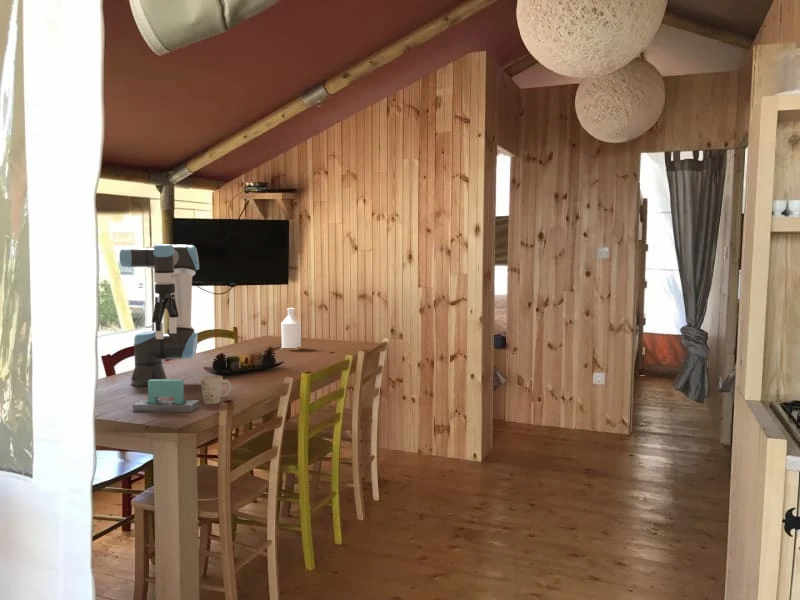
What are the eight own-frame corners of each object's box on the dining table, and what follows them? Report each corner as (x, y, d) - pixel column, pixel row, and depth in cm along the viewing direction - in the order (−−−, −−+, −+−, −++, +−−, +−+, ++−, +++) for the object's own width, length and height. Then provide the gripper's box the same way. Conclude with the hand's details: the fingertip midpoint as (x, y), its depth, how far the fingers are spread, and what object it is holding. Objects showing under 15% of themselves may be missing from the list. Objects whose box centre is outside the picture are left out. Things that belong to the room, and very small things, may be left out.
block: (132, 411, 241) (132, 404, 241) (142, 406, 249) (142, 399, 249) (191, 411, 240) (191, 405, 240) (198, 406, 248) (198, 400, 248)
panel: (148, 409, 243) (147, 380, 243) (151, 407, 246) (151, 379, 246) (181, 410, 243) (180, 381, 242) (184, 408, 246) (183, 379, 245)
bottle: (294, 347, 401) (294, 307, 399) (305, 349, 392) (304, 308, 390) (277, 349, 393) (277, 308, 391) (287, 351, 384) (287, 309, 382)
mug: (197, 402, 255) (196, 377, 255) (225, 397, 264) (225, 373, 263) (207, 405, 250) (206, 380, 249) (236, 400, 258) (236, 375, 258)
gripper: (161, 286, 245) (163, 341, 248) (185, 280, 270) (186, 331, 273) (141, 286, 246) (143, 341, 248) (167, 280, 270) (169, 330, 273)
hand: (166, 336), depth 260 cm, fingers open, 13 cm apart
